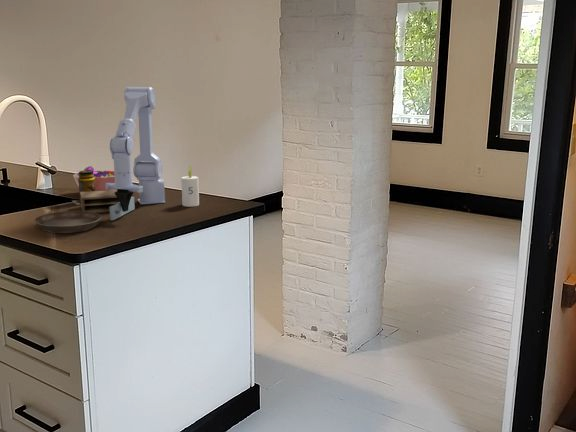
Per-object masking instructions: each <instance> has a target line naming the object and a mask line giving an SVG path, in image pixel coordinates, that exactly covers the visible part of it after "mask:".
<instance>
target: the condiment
mask: <svg viewBox="0 0 576 432" xmlns="http://www.w3.org/2000/svg"><path fill="white" fill-rule="evenodd" d="M78 173H79V179H78V182H79V186H78V192H79V193H78V194H79V195H78V196H79V199H78V200H76V199H75V200H72V202H73V203H74V204H75V205H78V206H79V205H81V204H80V203H81V195H80V192H90V191H96V188H95V178H94V177H93V176H94V175H93V171H91V170H85V171H84V170H79V172H78Z"/></svg>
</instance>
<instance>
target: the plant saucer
mask: <svg viewBox="0 0 576 432" xmlns="http://www.w3.org/2000/svg"><path fill="white" fill-rule="evenodd" d="M102 217H103V215H101V214H100V213H99V212H97V213H94V212H88V211H82V210H66V211H64V210H63V211H55V212H50V213H45V214H42V215H39V216H37V217H36V218H35V219H34V223H35V224H36V225H37V226H38V228H40V229H42V230H43V231H44V232H47V233H53V234H71V233H72V234H73V232H74V233H79V232H85V231H88V230H90V229H93V228H94V227H96V226H97V225H99V223H100V221H101V220H102Z"/></svg>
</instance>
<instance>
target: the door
mask: <svg viewBox="0 0 576 432" xmlns="http://www.w3.org/2000/svg"><path fill="white" fill-rule="evenodd" d="M109 208H110V212H109V217H110V219H109V220H110V221H114V220H117V219H119V218H120V217H122V216H125V215H127V214H128V213H130V212H131V211H134V209H136V205H135V196H134V197H131V199H130V202H129V208H128V211H125V212H123V211H122V207H121V204H120V202H119V203H117V204H115V205H113V206H111V207H109Z"/></svg>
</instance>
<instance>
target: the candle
mask: <svg viewBox="0 0 576 432" xmlns="http://www.w3.org/2000/svg"><path fill="white" fill-rule="evenodd" d="M180 180H181V195H182V196H181V201H182V202H181V203H182V206H183V207H189V208H191V207H197V206H200V190H199V187H200V186H199V182H200V181H199V177H198V176H196V175H193V171H192V167H191V165H190V164H189V165H188V175H187V176H182V177H181V179H180Z"/></svg>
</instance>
